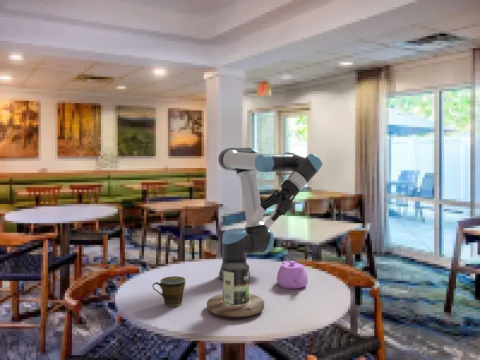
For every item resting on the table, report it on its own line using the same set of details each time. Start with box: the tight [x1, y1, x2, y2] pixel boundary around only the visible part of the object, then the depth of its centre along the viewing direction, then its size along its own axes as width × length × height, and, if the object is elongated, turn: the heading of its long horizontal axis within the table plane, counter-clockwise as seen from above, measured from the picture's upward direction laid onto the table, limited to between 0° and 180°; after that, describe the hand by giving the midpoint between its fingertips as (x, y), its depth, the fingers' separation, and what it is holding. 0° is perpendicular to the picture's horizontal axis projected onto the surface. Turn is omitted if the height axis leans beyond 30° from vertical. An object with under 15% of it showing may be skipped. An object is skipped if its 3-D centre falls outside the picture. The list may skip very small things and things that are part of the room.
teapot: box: [276, 260, 309, 290], centre depth 185 cm, size 13×20×11 cm
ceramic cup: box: [151, 276, 186, 308], centre depth 162 cm, size 13×10×10 cm
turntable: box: [206, 293, 265, 318], centre depth 157 cm, size 22×22×4 cm
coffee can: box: [222, 263, 250, 307], centre depth 156 cm, size 10×10×14 cm
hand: (259, 222), depth 164 cm, fingers open, 13 cm apart
